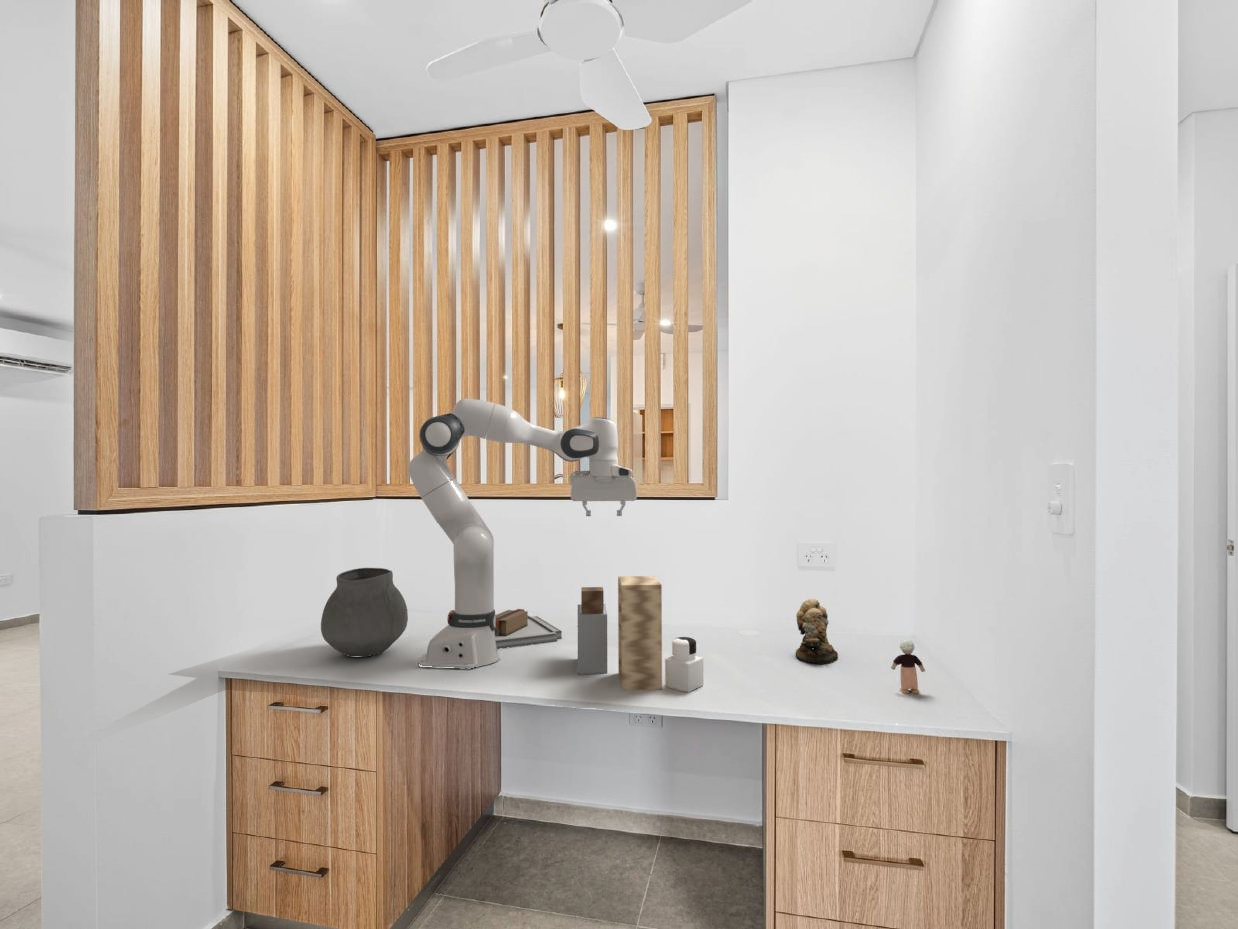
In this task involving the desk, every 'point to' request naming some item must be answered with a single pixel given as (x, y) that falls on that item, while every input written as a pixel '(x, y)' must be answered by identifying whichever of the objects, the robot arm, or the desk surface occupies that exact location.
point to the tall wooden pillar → (640, 632)
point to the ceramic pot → (364, 612)
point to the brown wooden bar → (592, 600)
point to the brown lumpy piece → (814, 634)
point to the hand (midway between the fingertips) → (603, 516)
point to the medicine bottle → (684, 666)
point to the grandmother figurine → (908, 667)
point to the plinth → (592, 642)
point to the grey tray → (523, 629)
